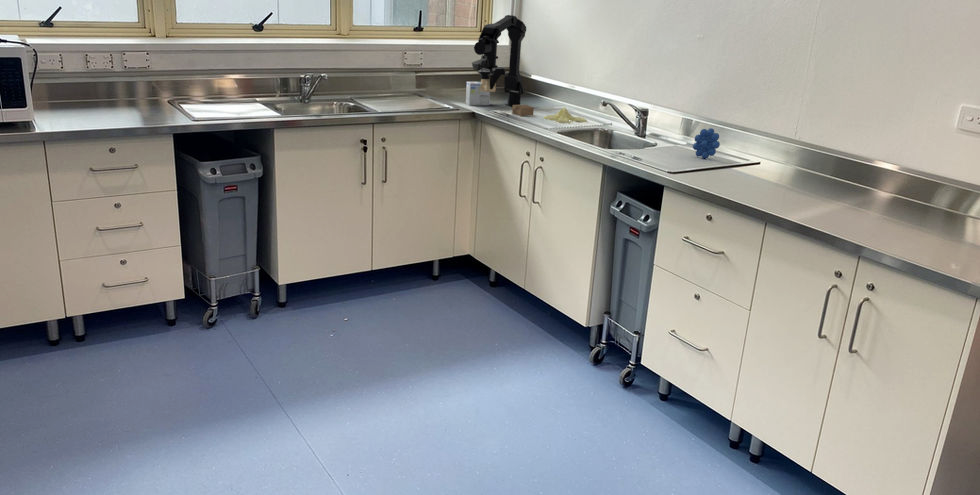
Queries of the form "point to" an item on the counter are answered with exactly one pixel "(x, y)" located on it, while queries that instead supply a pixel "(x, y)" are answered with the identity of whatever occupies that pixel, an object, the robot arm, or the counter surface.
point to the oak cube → (487, 86)
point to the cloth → (564, 117)
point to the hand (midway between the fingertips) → (488, 88)
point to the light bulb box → (476, 94)
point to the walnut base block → (522, 110)
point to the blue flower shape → (706, 143)
